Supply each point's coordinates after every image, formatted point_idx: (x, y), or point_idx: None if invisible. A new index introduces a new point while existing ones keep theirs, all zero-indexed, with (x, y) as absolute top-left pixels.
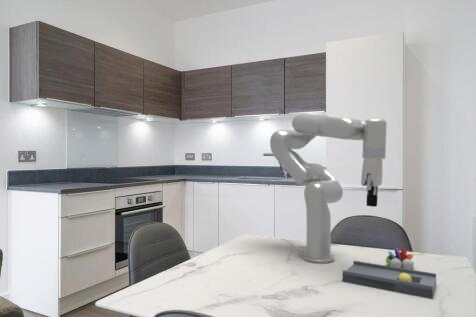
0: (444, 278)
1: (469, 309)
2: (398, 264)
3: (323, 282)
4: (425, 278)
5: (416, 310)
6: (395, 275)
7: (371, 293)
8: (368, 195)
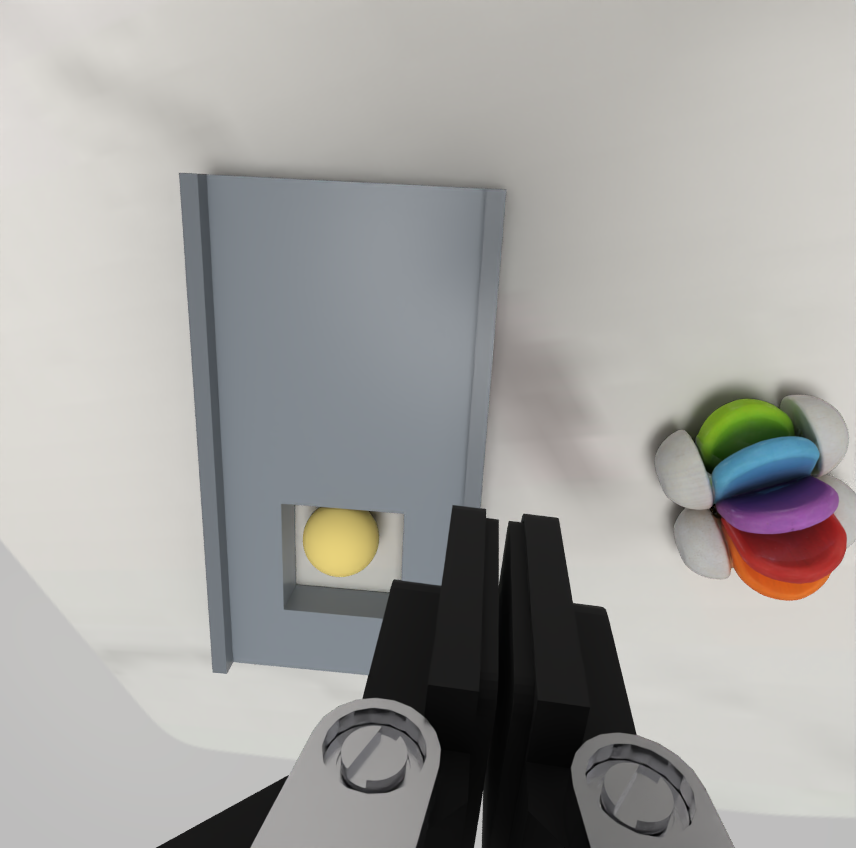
0: None
1: (202, 743)
2: (663, 490)
3: (112, 55)
4: None
5: (50, 573)
6: (361, 493)
7: (121, 375)
8: (423, 706)
